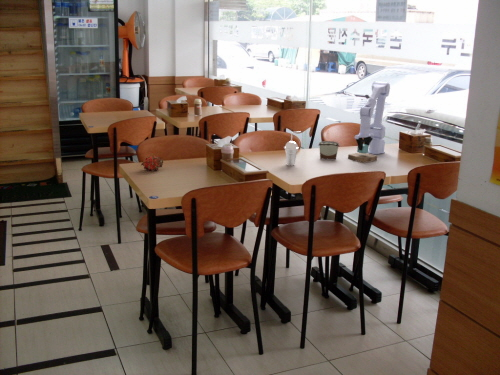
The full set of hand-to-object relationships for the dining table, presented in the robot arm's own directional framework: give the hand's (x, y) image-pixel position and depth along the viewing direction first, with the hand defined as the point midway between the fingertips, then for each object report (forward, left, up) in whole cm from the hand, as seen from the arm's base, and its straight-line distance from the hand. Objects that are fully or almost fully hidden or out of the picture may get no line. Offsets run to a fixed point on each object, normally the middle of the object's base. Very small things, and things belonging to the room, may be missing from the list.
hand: (363, 149), depth 322 cm
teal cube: (0, 0, -2) cm, 2 cm away
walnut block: (0, 0, -6) cm, 6 cm away
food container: (+16, -13, -6) cm, 21 cm away
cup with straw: (+46, -12, -6) cm, 48 cm away
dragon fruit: (+117, -43, -6) cm, 125 cm away
